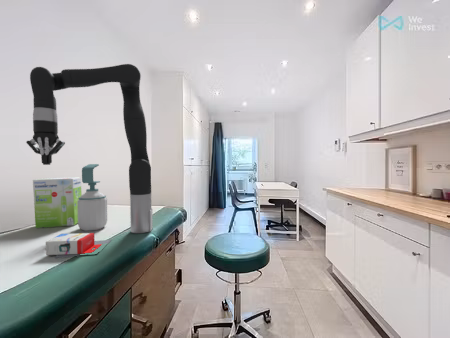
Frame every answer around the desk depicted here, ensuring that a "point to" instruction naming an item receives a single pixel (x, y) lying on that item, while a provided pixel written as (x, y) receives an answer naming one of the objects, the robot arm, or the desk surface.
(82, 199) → the soap bottle
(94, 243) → the mat
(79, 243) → the ink box
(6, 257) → the desk surface
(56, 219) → the toothbrush box
